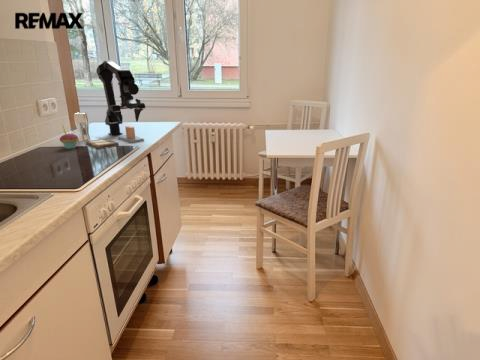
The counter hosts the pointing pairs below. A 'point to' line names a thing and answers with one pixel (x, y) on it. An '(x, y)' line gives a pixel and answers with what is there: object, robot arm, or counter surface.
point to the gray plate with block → (130, 136)
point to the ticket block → (102, 143)
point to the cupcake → (69, 140)
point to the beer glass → (82, 125)
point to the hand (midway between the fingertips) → (129, 122)
